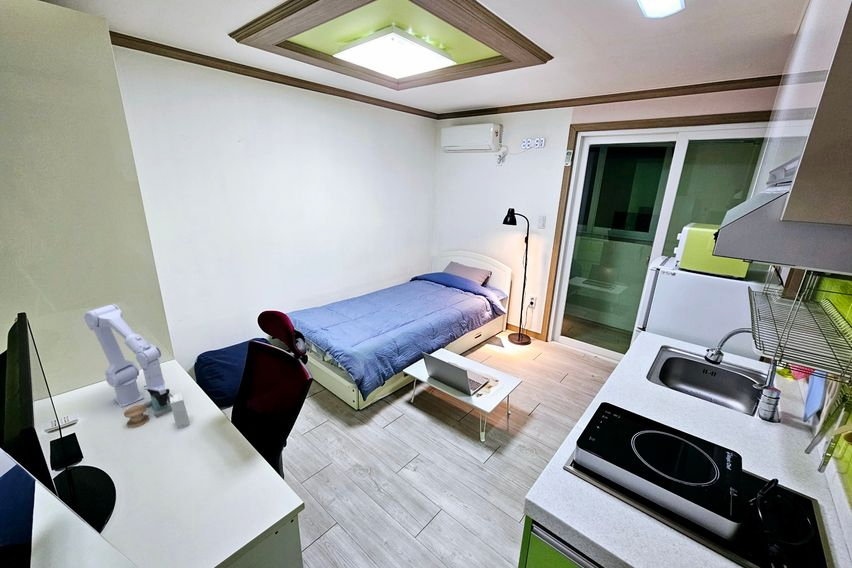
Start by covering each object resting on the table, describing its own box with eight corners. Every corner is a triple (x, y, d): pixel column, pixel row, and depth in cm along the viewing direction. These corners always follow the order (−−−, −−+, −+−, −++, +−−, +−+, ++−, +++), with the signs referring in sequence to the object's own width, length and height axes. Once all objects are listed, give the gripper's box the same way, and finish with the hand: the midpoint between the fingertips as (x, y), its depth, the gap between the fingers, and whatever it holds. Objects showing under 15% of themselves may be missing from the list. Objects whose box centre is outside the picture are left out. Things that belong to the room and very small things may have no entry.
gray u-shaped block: (145, 406, 149) (143, 400, 148) (168, 396, 155) (167, 390, 155) (156, 417, 142) (155, 411, 141) (180, 406, 149) (179, 401, 148)
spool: (124, 422, 139) (121, 411, 137) (145, 413, 144) (142, 402, 142) (130, 430, 135) (127, 418, 133) (152, 420, 140) (149, 408, 139)
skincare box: (189, 424, 139) (184, 399, 135) (176, 429, 136) (170, 403, 132) (188, 416, 143) (182, 392, 139) (174, 421, 140) (169, 396, 137)
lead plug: (153, 408, 148) (150, 395, 146) (164, 403, 151) (161, 390, 149) (157, 412, 145) (153, 398, 143) (168, 407, 149) (165, 394, 147)
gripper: (135, 373, 144) (142, 400, 148) (148, 385, 136) (155, 413, 140) (155, 366, 150) (161, 392, 154) (169, 377, 142) (175, 404, 146)
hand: (160, 402), depth 147 cm, fingers open, 7 cm apart
